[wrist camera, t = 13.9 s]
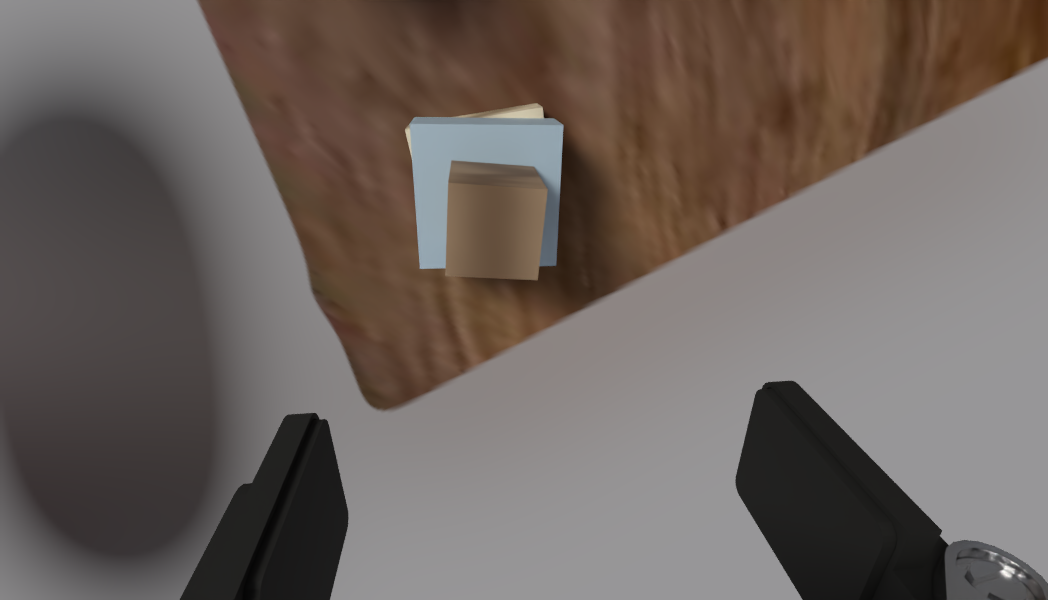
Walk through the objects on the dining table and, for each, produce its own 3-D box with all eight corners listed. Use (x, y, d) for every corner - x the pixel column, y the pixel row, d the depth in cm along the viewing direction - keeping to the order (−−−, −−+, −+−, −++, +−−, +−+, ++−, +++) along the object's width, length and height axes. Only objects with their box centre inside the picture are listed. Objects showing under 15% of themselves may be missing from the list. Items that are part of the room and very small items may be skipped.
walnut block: (533, 166, 31) (547, 189, 26) (526, 243, 33) (537, 280, 28) (451, 160, 31) (448, 182, 25) (448, 239, 33) (445, 276, 27)
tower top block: (554, 118, 34) (563, 125, 30) (548, 247, 38) (556, 265, 34) (414, 117, 33) (409, 124, 30) (423, 250, 37) (420, 268, 33)
